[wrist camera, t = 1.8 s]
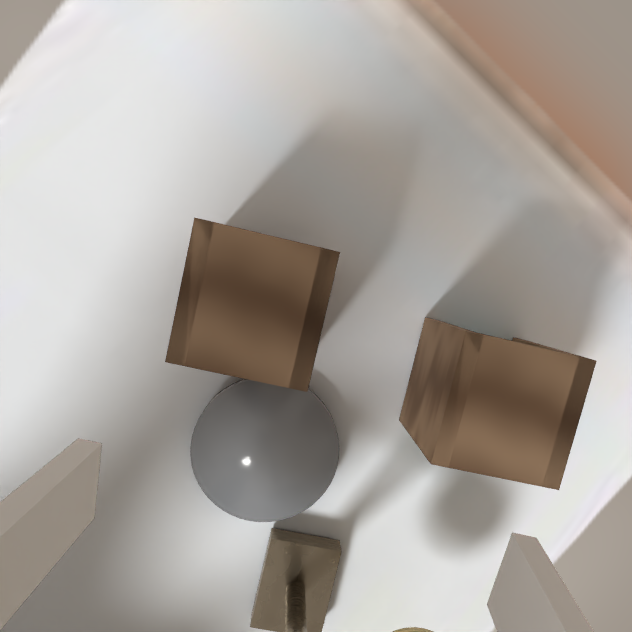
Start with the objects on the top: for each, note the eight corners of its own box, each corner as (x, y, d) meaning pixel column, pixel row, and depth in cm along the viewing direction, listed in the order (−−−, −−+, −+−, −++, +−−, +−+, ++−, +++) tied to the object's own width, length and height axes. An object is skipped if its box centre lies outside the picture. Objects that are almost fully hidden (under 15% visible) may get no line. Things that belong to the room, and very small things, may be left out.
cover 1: (303, 363, 36) (307, 391, 27) (195, 340, 35) (165, 362, 27) (328, 257, 35) (339, 252, 27) (218, 231, 34) (194, 217, 26)
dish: (319, 525, 37) (320, 533, 36) (180, 499, 36) (177, 507, 35) (352, 392, 36) (354, 396, 35) (210, 362, 35) (207, 365, 34)
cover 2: (498, 440, 37) (558, 489, 29) (399, 420, 37) (431, 464, 28) (526, 340, 37) (596, 360, 28) (425, 317, 36) (466, 331, 28)
